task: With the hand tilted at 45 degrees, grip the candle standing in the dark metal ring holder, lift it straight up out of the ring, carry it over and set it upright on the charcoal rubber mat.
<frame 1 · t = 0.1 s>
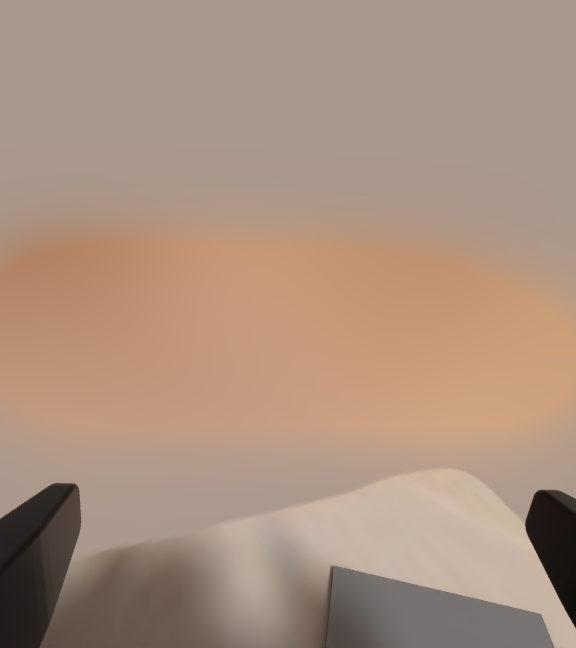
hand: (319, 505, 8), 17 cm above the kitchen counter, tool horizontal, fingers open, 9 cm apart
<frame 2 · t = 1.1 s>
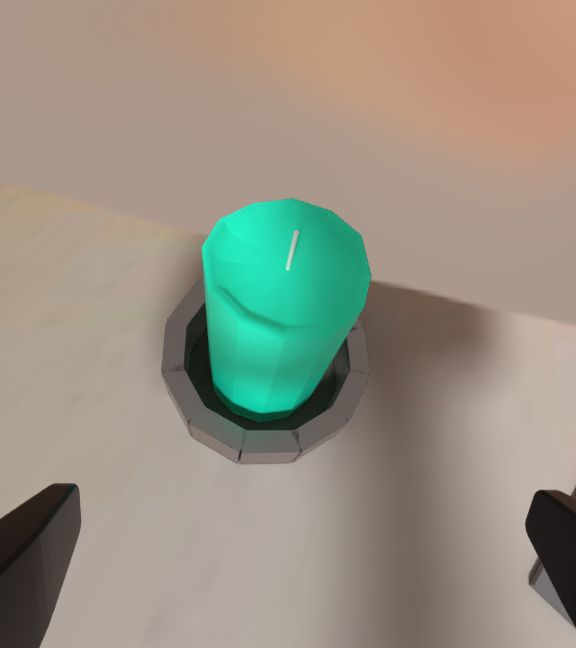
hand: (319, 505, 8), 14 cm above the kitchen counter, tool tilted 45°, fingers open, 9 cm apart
candle: (263, 370, 24), resting in ring holder
ring holder: (263, 369, 24), on the kitchen counter
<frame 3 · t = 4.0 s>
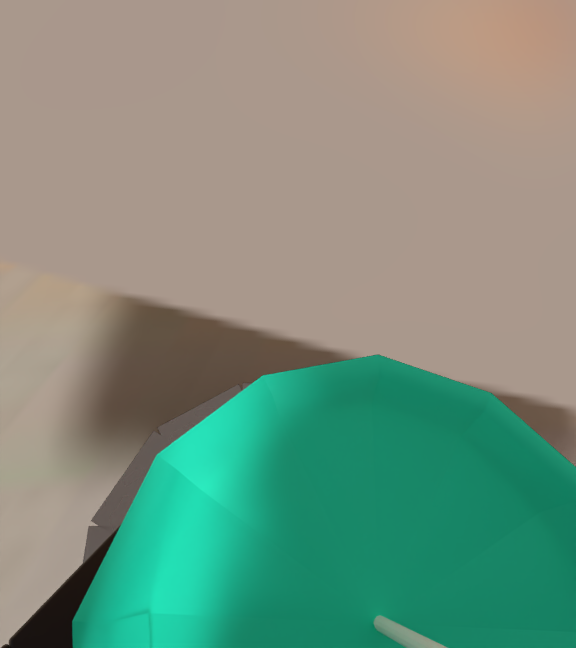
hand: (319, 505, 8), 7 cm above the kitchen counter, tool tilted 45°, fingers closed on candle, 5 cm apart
candle: (277, 568, 14), resting in ring holder, touching gripper
ring holder: (278, 568, 13), on the kitchen counter
when the fingers open (8 cm above the kitchen counter, at t = 10.0 s): candle stays where it is, resting on mat.
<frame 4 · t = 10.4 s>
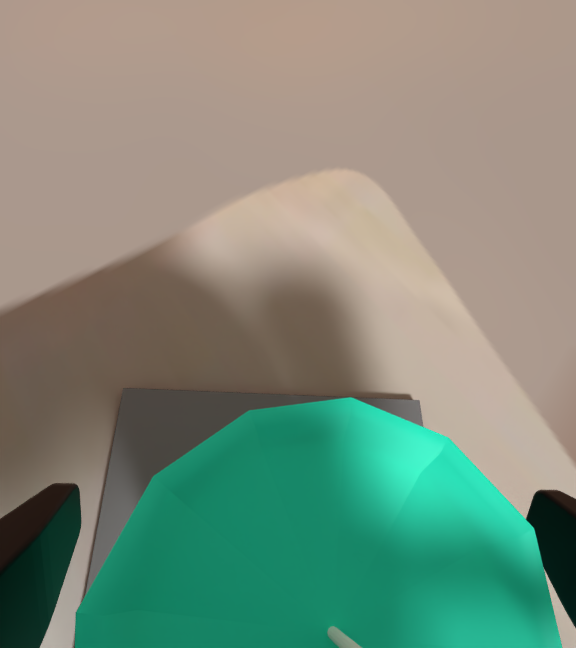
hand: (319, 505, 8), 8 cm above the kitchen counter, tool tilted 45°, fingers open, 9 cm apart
candle: (264, 573, 14), resting on mat
mat: (274, 564, 15), on the kitchen counter
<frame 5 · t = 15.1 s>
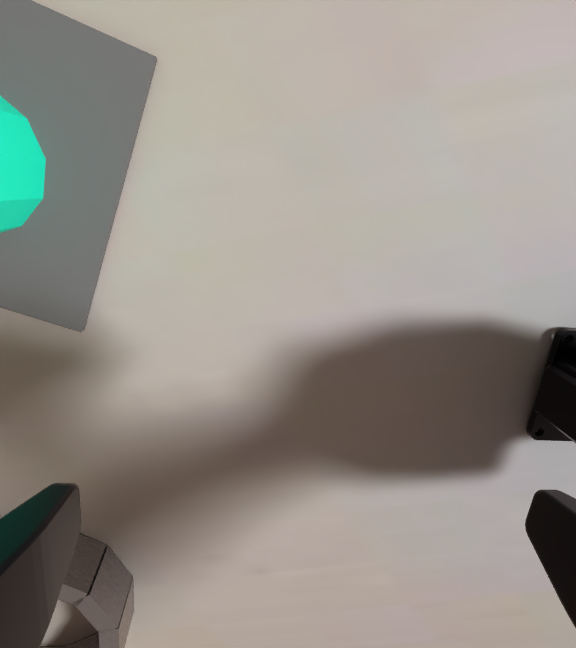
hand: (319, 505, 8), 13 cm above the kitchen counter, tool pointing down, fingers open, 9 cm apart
ring holder: (42, 596, 24), on the kitchen counter
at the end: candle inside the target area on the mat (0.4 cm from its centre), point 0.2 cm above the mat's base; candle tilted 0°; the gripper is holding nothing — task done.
